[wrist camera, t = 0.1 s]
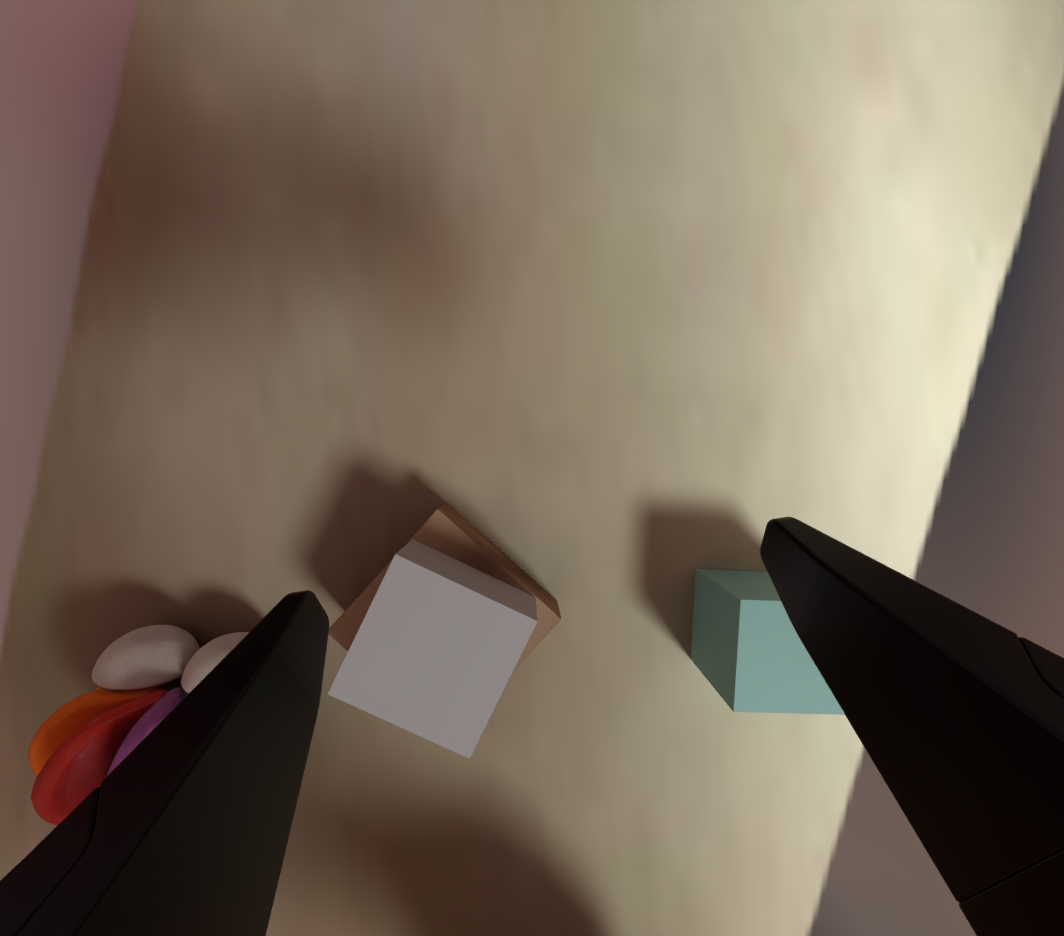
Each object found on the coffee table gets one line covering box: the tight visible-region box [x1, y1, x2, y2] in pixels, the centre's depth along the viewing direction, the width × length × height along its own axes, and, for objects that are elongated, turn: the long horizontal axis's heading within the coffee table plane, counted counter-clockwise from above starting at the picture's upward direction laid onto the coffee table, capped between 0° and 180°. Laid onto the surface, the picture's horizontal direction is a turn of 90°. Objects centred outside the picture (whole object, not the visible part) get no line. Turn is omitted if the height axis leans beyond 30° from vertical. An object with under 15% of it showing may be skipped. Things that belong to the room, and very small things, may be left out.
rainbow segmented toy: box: [28, 625, 249, 825], centre depth 20 cm, size 8×10×7 cm
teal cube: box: [690, 569, 845, 715], centre depth 22 cm, size 5×5×5 cm
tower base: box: [328, 503, 561, 671], centre depth 23 cm, size 8×8×3 cm
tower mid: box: [328, 539, 538, 759], centre depth 20 cm, size 6×6×3 cm
